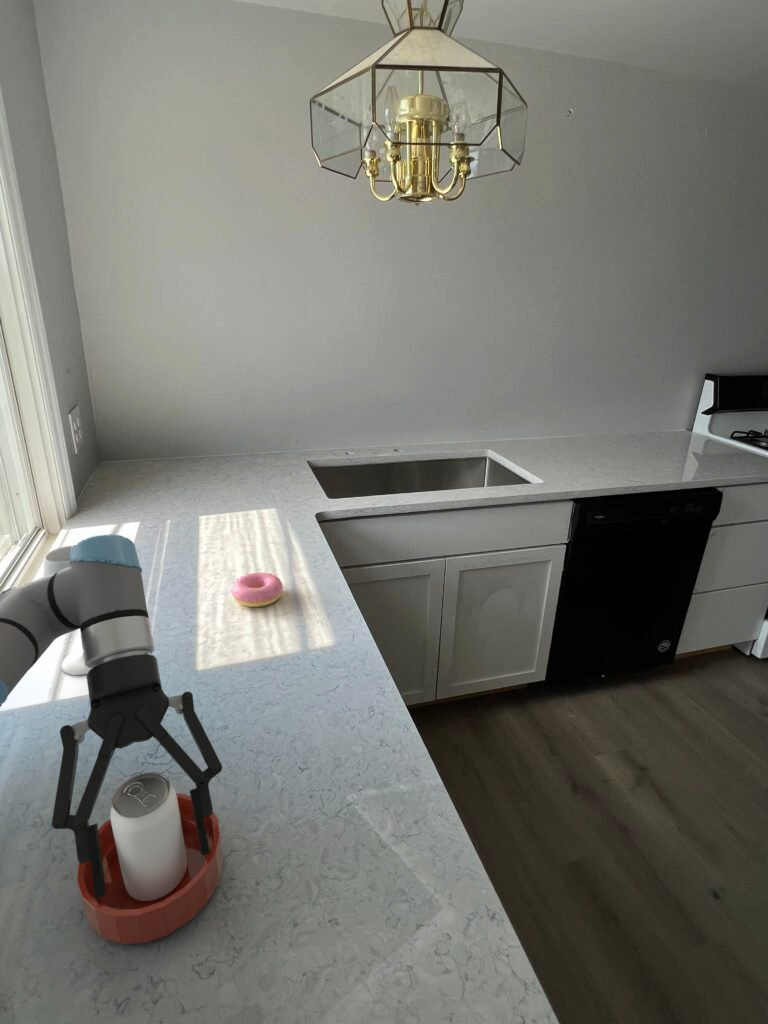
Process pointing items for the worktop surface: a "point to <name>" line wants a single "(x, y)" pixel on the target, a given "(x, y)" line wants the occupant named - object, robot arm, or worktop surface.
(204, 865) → the bowl
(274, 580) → the doughnut
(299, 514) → the worktop surface
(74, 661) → the wineglass
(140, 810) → the can
